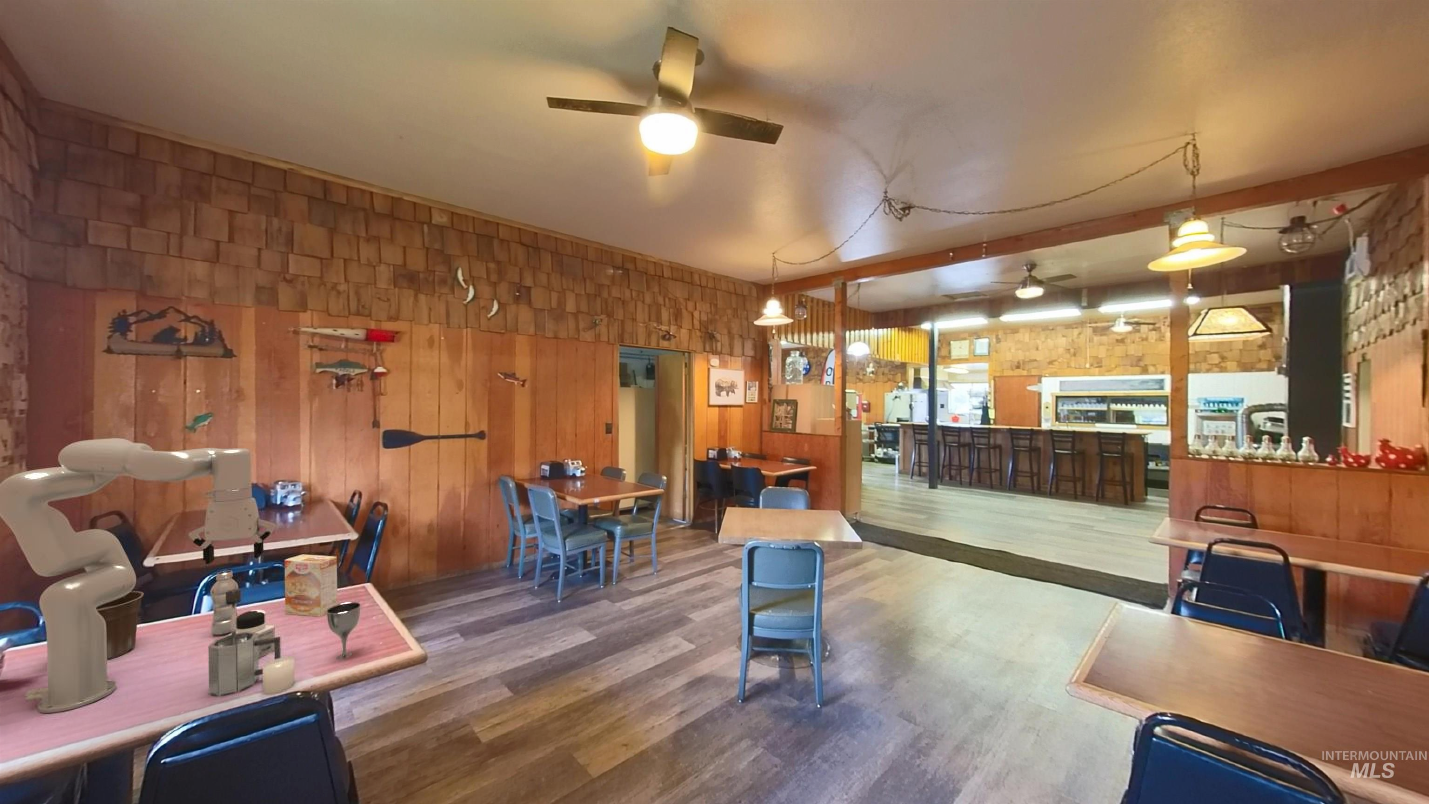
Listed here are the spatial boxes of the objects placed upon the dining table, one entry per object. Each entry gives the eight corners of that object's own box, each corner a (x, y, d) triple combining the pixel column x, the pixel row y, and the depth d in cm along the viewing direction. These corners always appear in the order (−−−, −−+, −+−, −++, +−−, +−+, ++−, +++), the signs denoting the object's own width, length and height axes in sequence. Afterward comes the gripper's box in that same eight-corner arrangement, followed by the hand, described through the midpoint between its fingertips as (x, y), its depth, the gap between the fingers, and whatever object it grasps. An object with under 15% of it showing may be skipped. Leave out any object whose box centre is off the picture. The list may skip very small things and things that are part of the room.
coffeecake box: (284, 614, 182) (283, 559, 181) (303, 606, 189) (302, 553, 188) (320, 617, 179) (319, 562, 179) (338, 608, 186) (337, 555, 186)
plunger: (214, 660, 132) (213, 597, 131) (223, 649, 137) (223, 589, 137) (244, 654, 134) (243, 592, 134) (252, 644, 140) (252, 585, 139)
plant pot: (77, 673, 143) (76, 616, 143) (47, 663, 148) (46, 608, 148) (156, 646, 158) (155, 594, 158) (126, 638, 164) (125, 588, 163)
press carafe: (203, 702, 129) (202, 651, 129) (218, 683, 138) (217, 636, 138) (274, 687, 136) (274, 639, 136) (285, 670, 144) (284, 625, 144)
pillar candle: (258, 698, 131) (258, 671, 131) (267, 685, 137) (268, 659, 137) (289, 692, 134) (290, 666, 134) (297, 680, 139) (297, 655, 139)
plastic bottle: (242, 631, 168) (241, 571, 168) (214, 639, 163) (213, 577, 162) (235, 626, 172) (235, 567, 172) (208, 634, 166) (207, 573, 166)
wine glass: (363, 657, 152) (363, 607, 151) (330, 667, 146) (330, 615, 146) (357, 648, 157) (356, 599, 157) (325, 658, 151) (324, 607, 151)
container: (247, 663, 148) (247, 619, 148) (226, 661, 150) (226, 617, 149) (275, 650, 156) (275, 608, 155) (255, 648, 157) (255, 606, 157)
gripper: (181, 501, 128) (183, 569, 128) (269, 494, 136) (271, 558, 136) (195, 496, 134) (196, 560, 135) (278, 490, 142) (280, 551, 143)
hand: (234, 559), depth 135 cm, fingers open, 9 cm apart
